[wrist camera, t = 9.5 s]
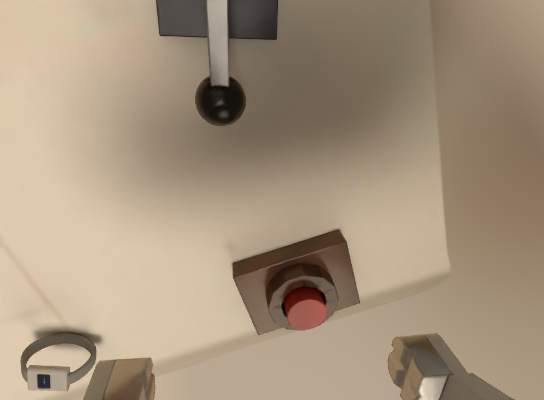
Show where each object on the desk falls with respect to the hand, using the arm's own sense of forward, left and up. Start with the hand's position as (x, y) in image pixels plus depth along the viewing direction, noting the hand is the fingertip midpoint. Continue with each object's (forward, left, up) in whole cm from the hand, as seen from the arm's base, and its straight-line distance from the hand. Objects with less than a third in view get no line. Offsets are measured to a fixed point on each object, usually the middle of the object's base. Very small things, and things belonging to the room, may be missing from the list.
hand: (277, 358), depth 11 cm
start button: (-5, +12, -16) cm, 21 cm away
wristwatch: (+18, +18, -20) cm, 32 cm away
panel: (-5, +12, -20) cm, 24 cm away
